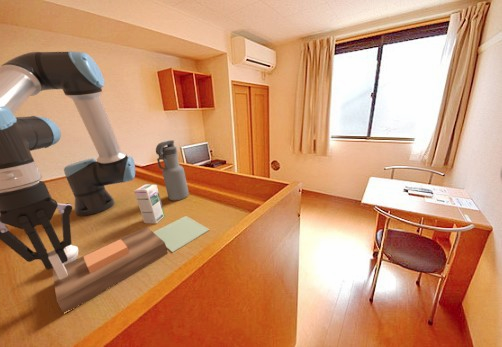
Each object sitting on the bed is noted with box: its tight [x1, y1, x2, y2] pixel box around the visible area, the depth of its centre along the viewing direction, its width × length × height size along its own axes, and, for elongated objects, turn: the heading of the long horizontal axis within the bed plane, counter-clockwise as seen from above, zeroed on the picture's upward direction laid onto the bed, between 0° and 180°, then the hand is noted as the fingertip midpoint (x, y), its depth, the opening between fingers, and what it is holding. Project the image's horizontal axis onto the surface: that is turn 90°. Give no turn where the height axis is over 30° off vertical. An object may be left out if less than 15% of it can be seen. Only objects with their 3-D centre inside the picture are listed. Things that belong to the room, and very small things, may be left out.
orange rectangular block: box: [83, 238, 129, 273], centre depth 54 cm, size 6×9×2 cm, turn 138°
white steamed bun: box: [63, 244, 79, 265], centre depth 58 cm, size 6×6×7 cm
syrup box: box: [134, 183, 166, 224], centre depth 77 cm, size 6×6×14 cm
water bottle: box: [155, 140, 189, 202], centre depth 95 cm, size 10×10×28 cm
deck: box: [51, 226, 169, 313], centre depth 56 cm, size 14×24×4 cm, turn 138°
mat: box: [152, 215, 210, 253], centre depth 70 cm, size 16×14×1 cm
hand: (63, 275), depth 48 cm, fingers closed
